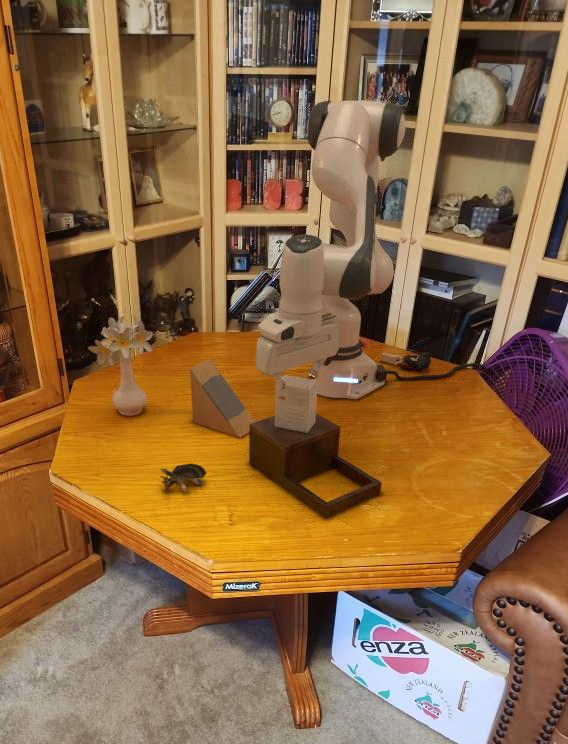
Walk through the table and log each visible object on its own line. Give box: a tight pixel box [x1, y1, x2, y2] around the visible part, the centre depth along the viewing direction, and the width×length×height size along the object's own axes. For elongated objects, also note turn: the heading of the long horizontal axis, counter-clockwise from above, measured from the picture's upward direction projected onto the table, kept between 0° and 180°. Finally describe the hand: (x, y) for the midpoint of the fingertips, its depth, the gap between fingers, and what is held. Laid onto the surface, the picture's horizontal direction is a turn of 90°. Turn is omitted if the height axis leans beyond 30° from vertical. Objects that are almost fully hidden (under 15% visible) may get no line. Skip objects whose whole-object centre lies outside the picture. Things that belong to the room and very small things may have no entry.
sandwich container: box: [189, 358, 256, 438], centre depth 168 cm, size 9×15×15 cm, turn 56°
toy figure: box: [381, 347, 432, 372], centre depth 203 cm, size 7×6×15 cm
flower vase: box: [87, 313, 154, 417], centre depth 171 cm, size 13×18×25 cm
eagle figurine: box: [159, 463, 207, 494], centre depth 145 cm, size 8×7×9 cm
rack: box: [248, 412, 383, 519], centre depth 148 cm, size 16×27×10 cm, turn 36°
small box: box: [274, 374, 318, 433], centre depth 147 cm, size 8×6×10 cm
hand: (297, 383), depth 144 cm, fingers open, 8 cm apart
